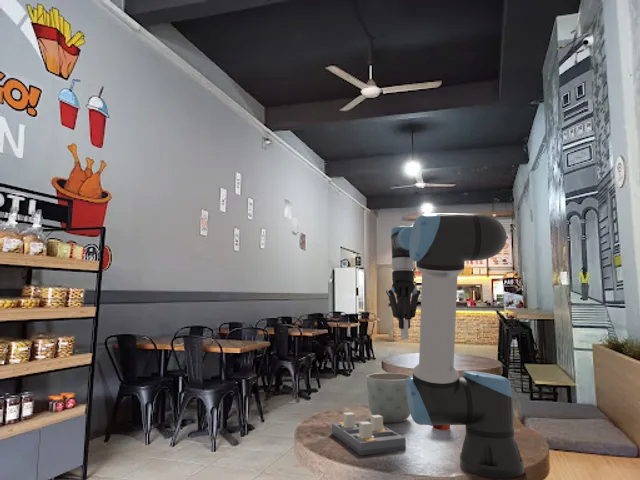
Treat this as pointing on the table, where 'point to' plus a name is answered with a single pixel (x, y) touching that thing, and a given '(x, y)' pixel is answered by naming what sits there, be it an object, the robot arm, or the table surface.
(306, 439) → the table surface
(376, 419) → the tab
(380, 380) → the concrete flower pot
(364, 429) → the tab
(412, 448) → the table surface
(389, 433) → the switch bank
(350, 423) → the tab
